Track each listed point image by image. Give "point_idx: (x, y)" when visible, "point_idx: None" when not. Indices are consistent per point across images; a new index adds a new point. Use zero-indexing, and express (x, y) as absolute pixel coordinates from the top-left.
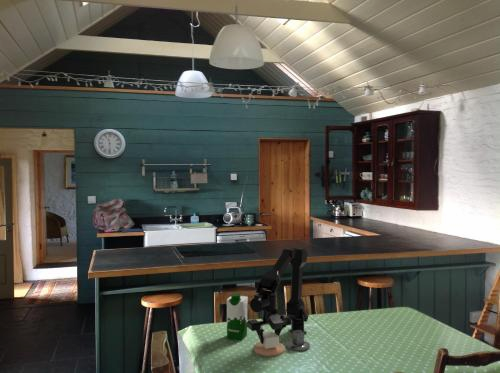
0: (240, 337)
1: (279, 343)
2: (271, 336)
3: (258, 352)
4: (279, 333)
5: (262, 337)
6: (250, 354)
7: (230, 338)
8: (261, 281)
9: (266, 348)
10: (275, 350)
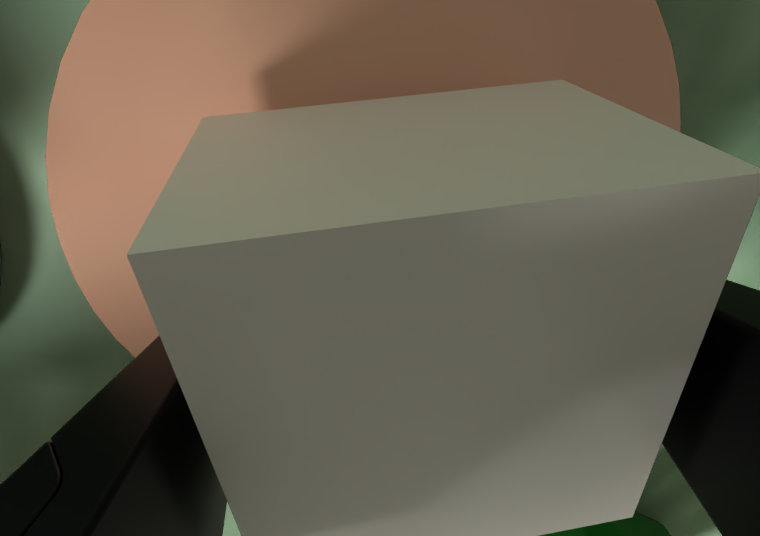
0: (609, 523)
1: (135, 330)
2: (457, 314)
3: (668, 89)
4: (53, 457)
5: (748, 314)
6: (739, 130)
7: (653, 525)
8: None
9: (554, 81)
10: (325, 24)
